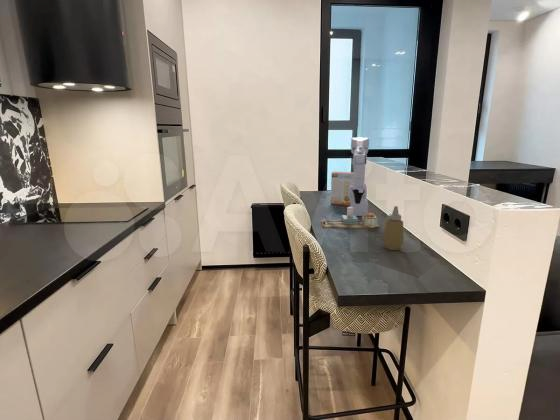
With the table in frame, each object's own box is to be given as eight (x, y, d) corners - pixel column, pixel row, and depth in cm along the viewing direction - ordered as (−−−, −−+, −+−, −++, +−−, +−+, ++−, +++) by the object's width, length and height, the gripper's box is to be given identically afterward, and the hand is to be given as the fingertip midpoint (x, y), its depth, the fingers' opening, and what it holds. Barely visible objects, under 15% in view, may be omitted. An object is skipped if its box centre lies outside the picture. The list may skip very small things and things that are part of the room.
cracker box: (354, 204, 208) (355, 172, 203) (350, 206, 203) (352, 173, 198) (334, 202, 215) (335, 170, 210) (330, 204, 210) (331, 172, 205)
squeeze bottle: (388, 243, 141) (391, 203, 136) (406, 248, 135) (410, 206, 131) (378, 248, 135) (381, 206, 131) (397, 253, 130) (401, 210, 125)
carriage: (355, 220, 170) (356, 205, 168) (357, 224, 163) (358, 209, 161) (341, 220, 170) (342, 205, 168) (343, 224, 163) (344, 209, 161)
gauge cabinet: (373, 222, 170) (373, 213, 169) (377, 227, 162) (377, 218, 161) (361, 222, 170) (362, 213, 169) (364, 227, 162) (365, 218, 161)
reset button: (372, 220, 168) (373, 212, 167) (374, 223, 164) (375, 215, 163) (364, 220, 168) (364, 212, 167) (365, 223, 164) (366, 215, 163)
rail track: (375, 222, 170) (375, 217, 170) (379, 227, 162) (379, 222, 161) (321, 222, 172) (321, 217, 171) (322, 227, 163) (322, 222, 163)
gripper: (348, 175, 172) (347, 200, 175) (353, 180, 158) (352, 207, 161) (362, 175, 171) (360, 200, 175) (368, 179, 157) (366, 206, 161)
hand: (357, 203), depth 168 cm, fingers closed
